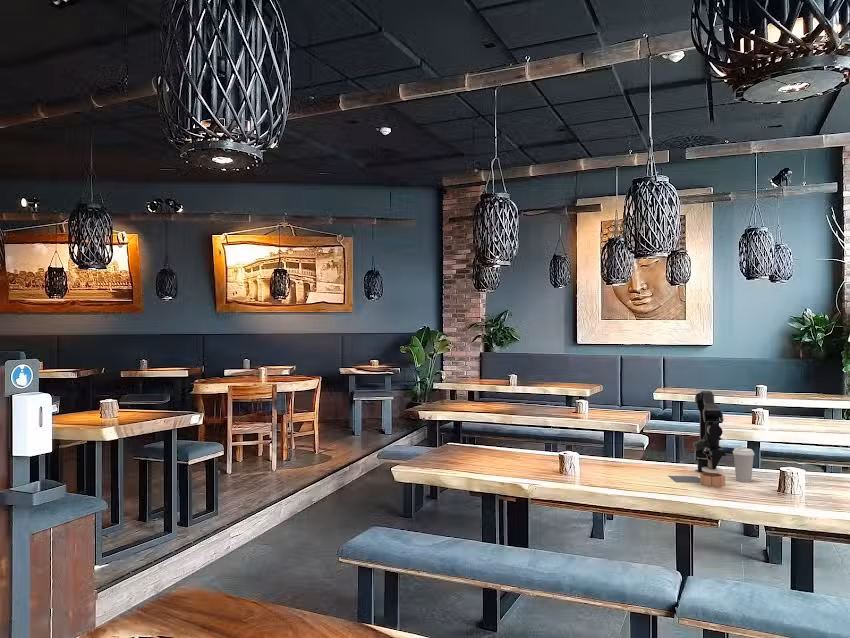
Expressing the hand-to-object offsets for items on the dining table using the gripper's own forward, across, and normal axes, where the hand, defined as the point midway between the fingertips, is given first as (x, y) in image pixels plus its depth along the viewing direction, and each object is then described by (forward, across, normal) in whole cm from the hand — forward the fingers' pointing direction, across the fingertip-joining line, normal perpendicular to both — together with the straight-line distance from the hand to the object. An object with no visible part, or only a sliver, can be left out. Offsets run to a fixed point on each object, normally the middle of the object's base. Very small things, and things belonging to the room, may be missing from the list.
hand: (712, 467), depth 300 cm
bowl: (+8, 0, 0) cm, 8 cm away
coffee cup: (+8, -11, +18) cm, 23 cm away
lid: (+1, 0, 0) cm, 1 cm away
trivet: (+8, -9, -9) cm, 15 cm away
